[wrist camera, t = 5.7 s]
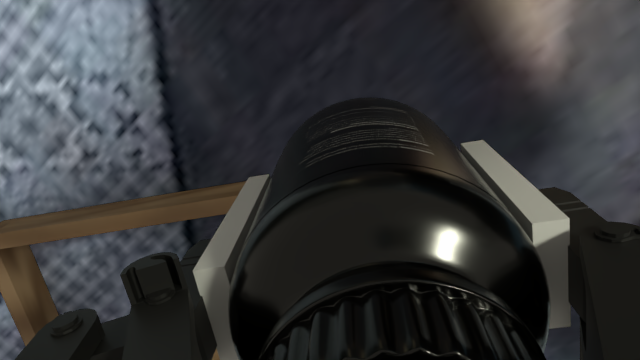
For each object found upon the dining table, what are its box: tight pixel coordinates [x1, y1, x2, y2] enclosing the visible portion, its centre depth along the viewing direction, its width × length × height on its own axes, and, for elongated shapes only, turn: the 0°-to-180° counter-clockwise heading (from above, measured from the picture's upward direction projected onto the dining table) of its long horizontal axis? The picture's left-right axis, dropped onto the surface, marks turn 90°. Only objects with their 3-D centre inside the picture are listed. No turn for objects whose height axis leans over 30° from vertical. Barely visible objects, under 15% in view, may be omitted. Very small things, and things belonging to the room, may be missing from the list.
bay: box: [0, 181, 246, 360], centre depth 36 cm, size 17×22×5 cm
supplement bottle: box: [228, 98, 551, 360], centre depth 12 cm, size 7×7×12 cm
